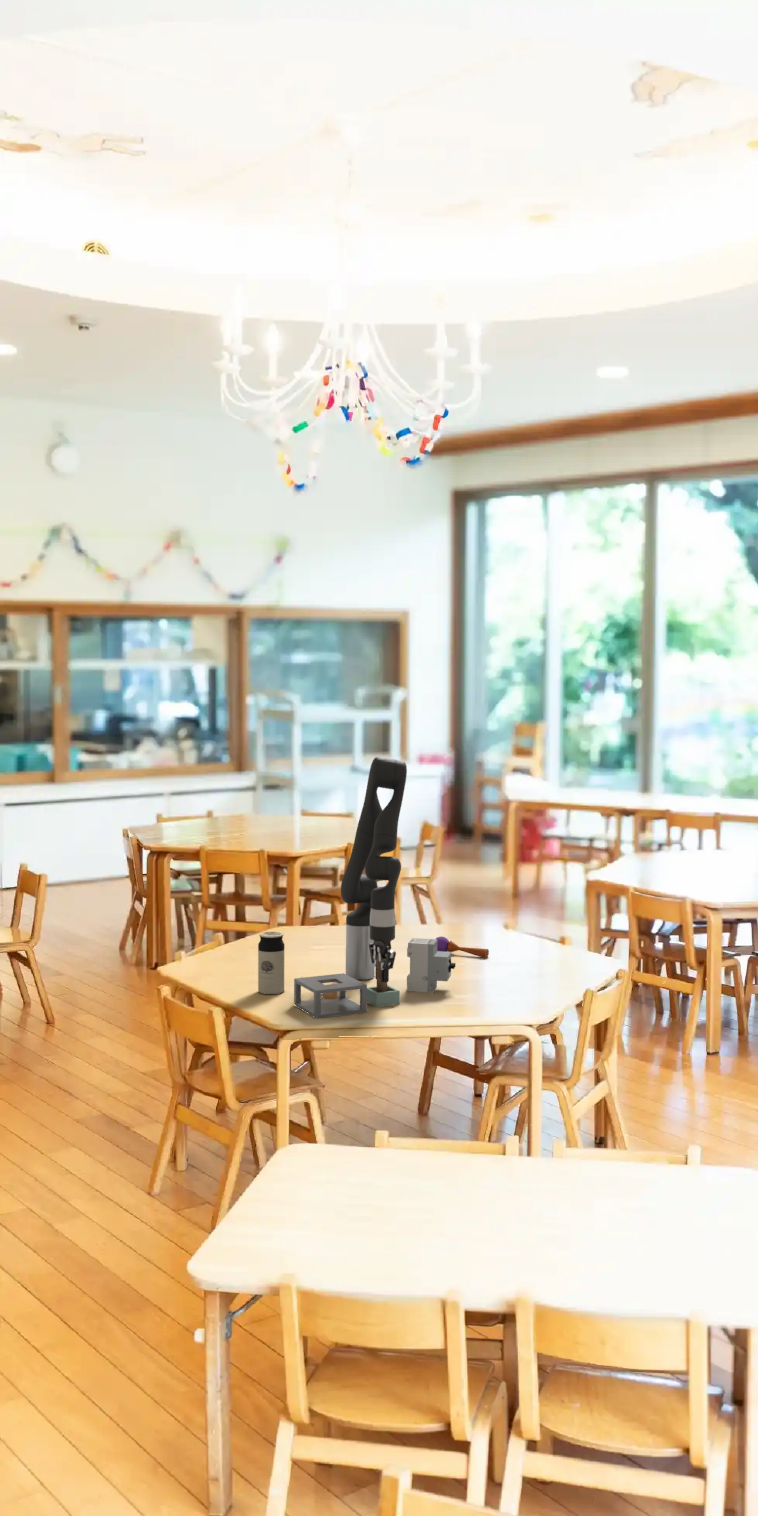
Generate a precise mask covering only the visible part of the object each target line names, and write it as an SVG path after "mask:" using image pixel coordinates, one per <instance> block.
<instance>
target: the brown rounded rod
mask: <svg viewBox="0 0 758 1516" xmlns="http://www.w3.org/2000/svg"><path fill="white" fill-rule="evenodd" d="M382 959H386V958H382ZM384 963H385V962H384ZM387 985H388V982H384V983H383V982H381V962H379V955H378V954H377V979H376V987H377V992H378V993H379V992H387Z"/></svg>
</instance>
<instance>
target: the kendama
mask: <svg viewBox="0 0 758 1516" xmlns="http://www.w3.org/2000/svg"><path fill="white" fill-rule="evenodd" d="M435 939H437V951H443V952H451V953H454V952H458V951H459V952H462V953H466V954H470V955H472V956H477V957H479V958H483V959H487V958H488V957H489V955H490V950H489V949H488V948H481V947H480V948H479V947H467V946H466V947H464V946H463V947H461V946H459V945H458V944H456V943H455V942H453V941H452V940H450V941H449V939H448V938H447V937H445V936H442V935H441V936H438V937H436V938H435Z"/></svg>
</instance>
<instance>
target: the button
mask: <svg viewBox="0 0 758 1516" xmlns="http://www.w3.org/2000/svg"><path fill="white" fill-rule="evenodd" d="M338 997H339V992H331V993H322V999H328V1000H332V999H337V998H338Z"/></svg>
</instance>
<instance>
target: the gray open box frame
mask: <svg viewBox="0 0 758 1516" xmlns="http://www.w3.org/2000/svg"><path fill="white" fill-rule="evenodd" d="M328 983H332V984H328ZM302 987H303V988H304V989H306V990H308V991H310V992H311V993H313V999H308V1000H302ZM367 988H368V984H366V983H364V982H362V981H360V980H356V979H354V978H352V977H350V976H348V975H346V973H345V972H344V973H342V972H341V973H334V974H325V975H323V974H322V975H315V976H306V977H295V978H294V979H293V992H294V994H293V1001H294V1002H293V1005H294V1004H295V1005H296V1006H297V1007H296V1006H295V1007H296V1008H298V1007H299V1008H301V1009H303V1010H304V1011H306V1012H308V1013H309V1014H310V1015H309V1014H308V1013H307V1014H308V1015H309V1016H311V1015H312V1016H311V1017H313V1016H314V1017H315V1019H323V1018H331V1017H339V1016H347V1015H348V1016H349V1015H356V1014H355V1013H357V1014H364V1013H367V1012H368V1002H367ZM355 990H359V1003H357V1002H355V1001H354V1000H351V999H349V998H348V997H346V996H347V995H346V994H347V993H346V992H348V991H355ZM331 992H338V998H337V999H332V1000H328V999H323V998H322V995H323V993H331ZM299 1008H298V1009H299ZM301 1009H300V1010H301ZM303 1010H302V1011H303ZM304 1011H303V1012H304ZM306 1012H305V1013H306ZM314 1017H313V1018H314Z"/></svg>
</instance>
